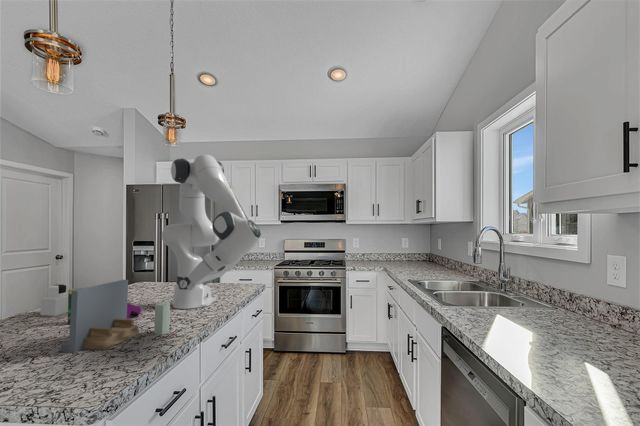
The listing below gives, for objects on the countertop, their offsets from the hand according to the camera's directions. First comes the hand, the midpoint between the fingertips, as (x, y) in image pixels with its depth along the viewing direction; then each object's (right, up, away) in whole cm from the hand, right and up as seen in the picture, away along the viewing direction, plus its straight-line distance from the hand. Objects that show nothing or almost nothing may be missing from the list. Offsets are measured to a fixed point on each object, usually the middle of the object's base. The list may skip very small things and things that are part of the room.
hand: (196, 286), depth 107 cm
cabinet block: (-13, -17, +1) cm, 21 cm away
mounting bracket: (-36, -17, +14) cm, 43 cm away
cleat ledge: (-25, -16, -8) cm, 30 cm away
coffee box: (-50, -17, +11) cm, 54 cm away
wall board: (-30, -16, -7) cm, 35 cm away
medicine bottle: (-69, -17, +23) cm, 75 cm away
